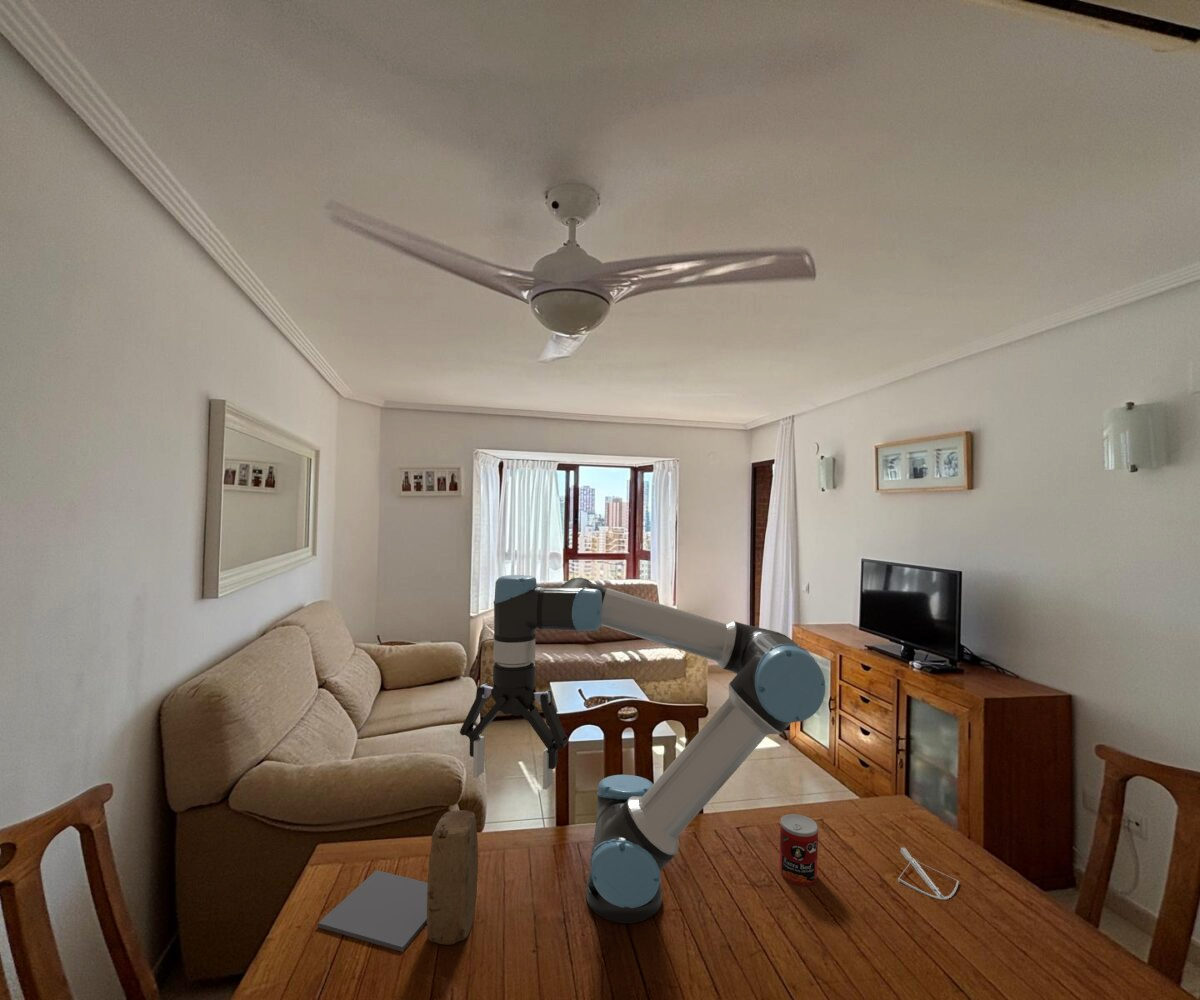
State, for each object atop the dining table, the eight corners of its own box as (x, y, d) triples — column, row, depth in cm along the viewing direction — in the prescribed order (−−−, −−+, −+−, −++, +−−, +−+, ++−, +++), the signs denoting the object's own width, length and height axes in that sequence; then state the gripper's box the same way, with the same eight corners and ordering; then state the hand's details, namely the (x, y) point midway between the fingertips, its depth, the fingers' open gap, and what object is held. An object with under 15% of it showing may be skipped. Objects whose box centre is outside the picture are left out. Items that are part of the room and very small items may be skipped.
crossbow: (974, 907, 115) (974, 897, 115) (911, 904, 116) (911, 895, 116) (930, 854, 131) (930, 846, 131) (875, 852, 132) (875, 843, 132)
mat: (452, 892, 114) (452, 888, 114) (402, 951, 98) (402, 947, 98) (376, 873, 119) (376, 870, 119) (318, 927, 103) (318, 922, 103)
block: (463, 951, 99) (467, 835, 99) (421, 947, 99) (425, 832, 100) (480, 907, 110) (483, 803, 110) (443, 904, 110) (446, 801, 111)
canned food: (778, 880, 120) (779, 828, 120) (781, 859, 127) (782, 810, 128) (816, 890, 117) (817, 837, 117) (817, 868, 125) (818, 818, 125)
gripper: (586, 662, 102) (584, 780, 102) (463, 650, 110) (461, 761, 109) (572, 673, 95) (570, 801, 95) (442, 660, 102) (440, 779, 102)
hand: (512, 780), depth 102 cm, fingers open, 13 cm apart
